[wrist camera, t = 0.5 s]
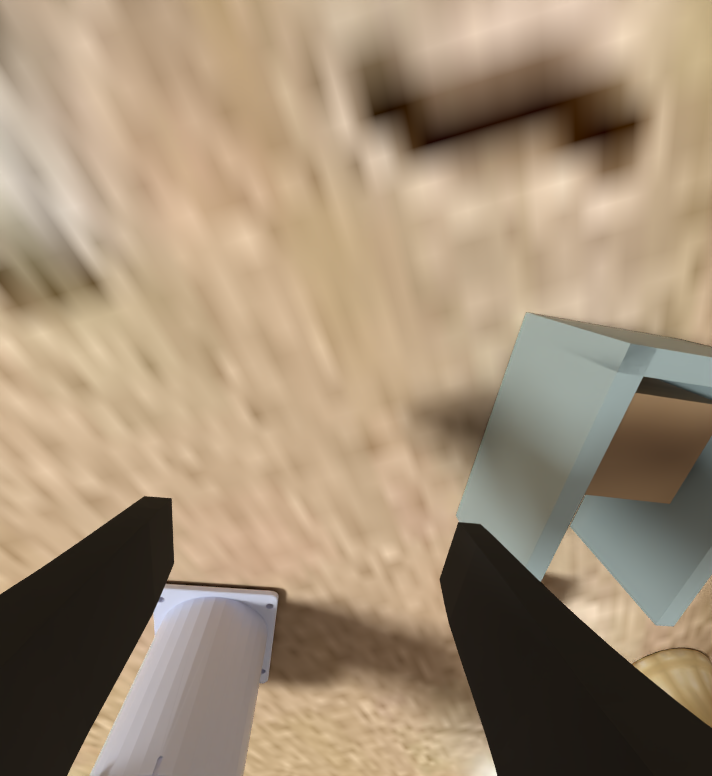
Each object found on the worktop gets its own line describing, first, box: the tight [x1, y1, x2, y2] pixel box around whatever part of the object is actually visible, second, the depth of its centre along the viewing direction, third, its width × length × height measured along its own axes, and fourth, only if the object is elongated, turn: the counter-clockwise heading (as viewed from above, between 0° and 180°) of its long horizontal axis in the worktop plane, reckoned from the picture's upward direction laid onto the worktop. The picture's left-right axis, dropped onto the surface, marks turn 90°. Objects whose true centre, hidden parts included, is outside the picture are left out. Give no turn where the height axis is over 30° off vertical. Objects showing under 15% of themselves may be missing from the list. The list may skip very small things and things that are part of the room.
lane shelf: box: [456, 312, 712, 626], centre depth 17 cm, size 13×9×6 cm
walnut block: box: [584, 376, 712, 504], centre depth 19 cm, size 18×5×5 cm, turn 170°
